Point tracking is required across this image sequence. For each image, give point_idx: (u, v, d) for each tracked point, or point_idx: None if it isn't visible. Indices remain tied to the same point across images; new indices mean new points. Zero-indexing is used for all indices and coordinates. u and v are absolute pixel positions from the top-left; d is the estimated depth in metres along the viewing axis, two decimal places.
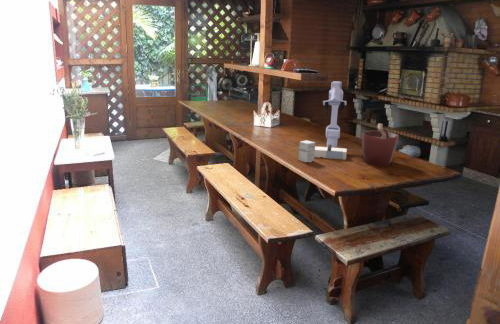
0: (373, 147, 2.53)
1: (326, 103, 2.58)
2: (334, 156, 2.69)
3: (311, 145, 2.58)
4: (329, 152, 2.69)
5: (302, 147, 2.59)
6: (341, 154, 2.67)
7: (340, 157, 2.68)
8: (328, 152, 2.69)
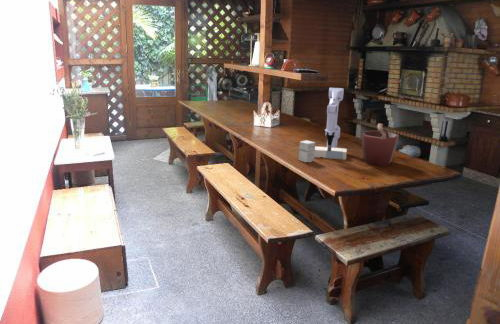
0: (373, 147, 2.53)
1: (326, 133, 2.71)
2: (334, 156, 2.69)
3: (311, 145, 2.58)
4: (329, 152, 2.69)
5: (302, 147, 2.59)
6: (341, 154, 2.67)
7: (340, 157, 2.68)
8: (328, 152, 2.69)
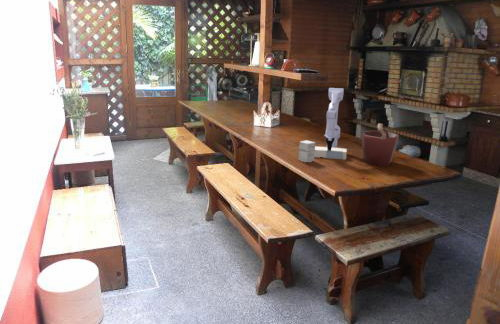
0: (373, 147, 2.53)
1: (326, 139, 2.70)
2: (334, 156, 2.69)
3: (311, 145, 2.58)
4: (329, 152, 2.69)
5: (302, 147, 2.59)
6: (341, 154, 2.67)
7: (340, 157, 2.68)
8: (328, 152, 2.69)
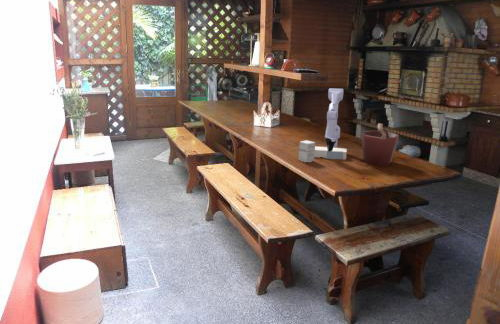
0: (373, 147, 2.53)
1: None
2: (334, 156, 2.68)
3: (311, 145, 2.58)
4: (329, 153, 2.67)
5: (302, 147, 2.59)
6: (341, 154, 2.67)
7: (340, 157, 2.68)
8: (328, 153, 2.67)
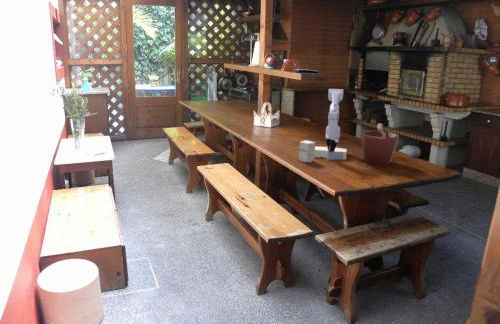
0: (373, 147, 2.53)
1: (326, 141, 2.65)
2: (335, 157, 2.67)
3: (311, 145, 2.58)
4: (330, 153, 2.65)
5: (302, 147, 2.59)
6: (341, 154, 2.67)
7: (340, 157, 2.67)
8: (329, 154, 2.65)
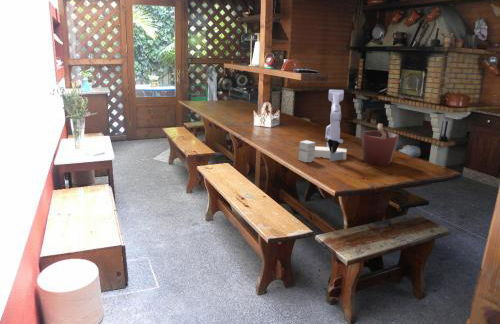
0: (373, 147, 2.53)
1: (328, 142, 2.61)
2: (337, 158, 2.65)
3: (311, 145, 2.58)
4: (333, 155, 2.63)
5: (302, 147, 2.59)
6: (342, 154, 2.67)
7: (341, 157, 2.67)
8: (332, 155, 2.62)
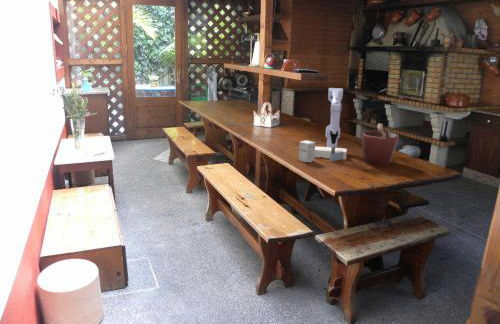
0: (373, 147, 2.53)
1: (330, 131, 2.74)
2: (337, 158, 2.65)
3: (311, 145, 2.58)
4: (333, 155, 2.63)
5: (302, 147, 2.59)
6: (342, 154, 2.67)
7: (341, 157, 2.67)
8: (332, 155, 2.62)
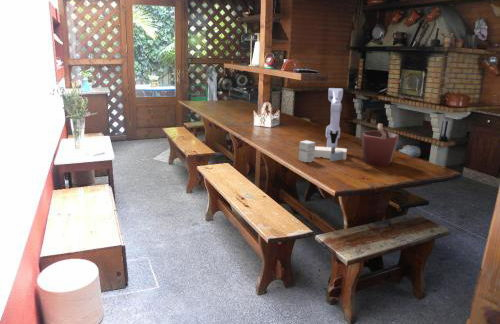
0: (373, 147, 2.53)
1: (330, 131, 2.74)
2: (337, 158, 2.65)
3: (311, 145, 2.58)
4: (333, 155, 2.63)
5: (302, 147, 2.59)
6: (342, 154, 2.67)
7: (341, 157, 2.67)
8: (332, 155, 2.62)
